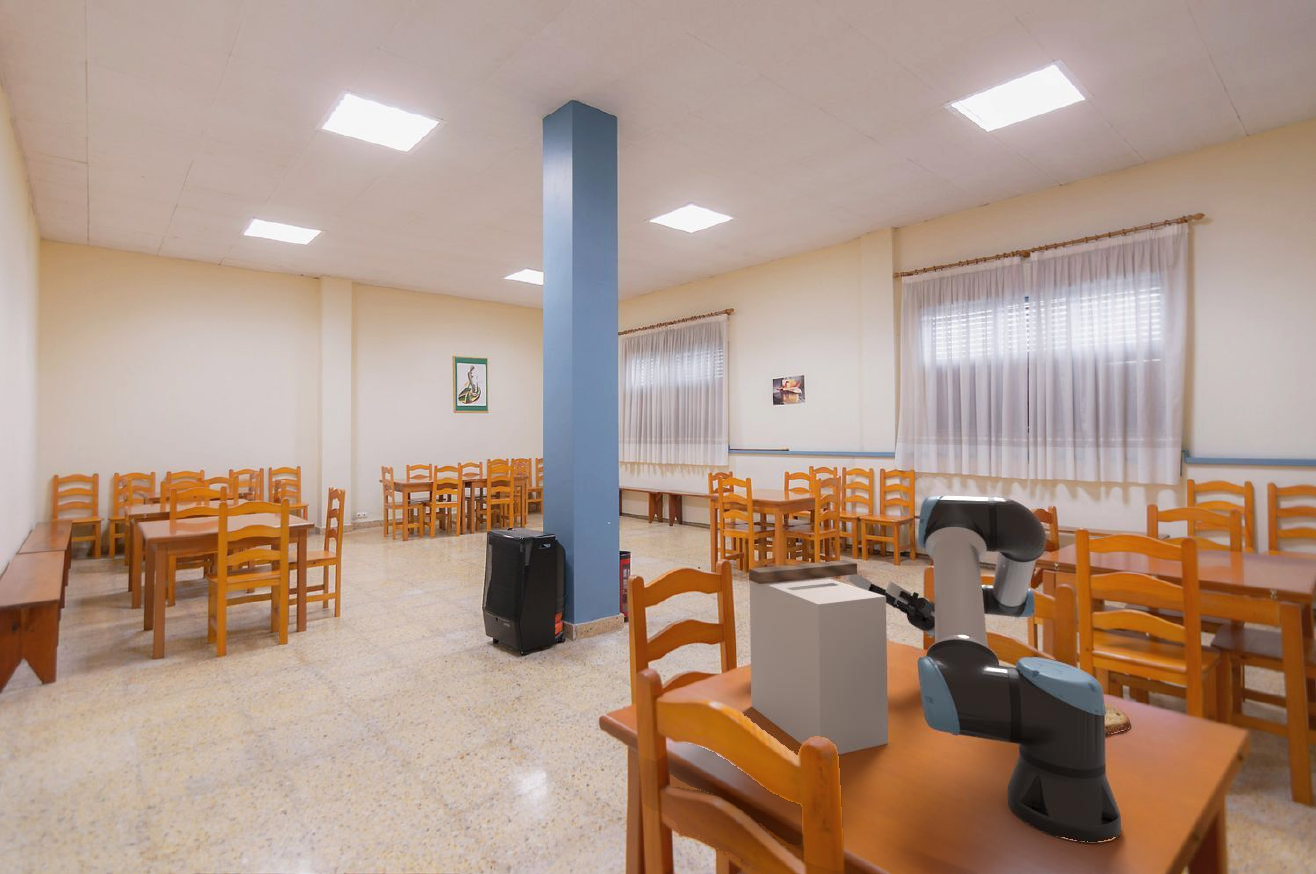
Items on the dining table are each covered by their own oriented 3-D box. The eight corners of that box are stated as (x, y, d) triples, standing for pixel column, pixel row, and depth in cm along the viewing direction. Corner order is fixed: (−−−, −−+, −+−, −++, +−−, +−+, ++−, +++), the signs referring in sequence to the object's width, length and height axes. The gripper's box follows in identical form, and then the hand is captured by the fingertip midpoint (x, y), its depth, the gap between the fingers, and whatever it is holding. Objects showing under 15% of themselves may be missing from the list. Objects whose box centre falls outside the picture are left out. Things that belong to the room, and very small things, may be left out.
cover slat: (844, 570, 151) (844, 560, 151) (857, 574, 146) (857, 563, 146) (749, 580, 141) (749, 568, 141) (759, 584, 137) (759, 572, 137)
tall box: (810, 695, 149) (808, 572, 149) (888, 743, 124) (885, 596, 125) (751, 706, 143) (749, 578, 143) (820, 758, 119) (818, 604, 119)
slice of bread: (1133, 721, 134) (1133, 703, 134) (1121, 751, 121) (1121, 731, 121) (1037, 698, 146) (1037, 682, 146) (1017, 724, 133) (1016, 706, 133)
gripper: (964, 645, 145) (900, 607, 138) (887, 618, 168) (829, 585, 161) (975, 615, 146) (913, 576, 140) (898, 592, 169) (841, 558, 163)
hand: (868, 581), depth 150 cm, fingers open, 13 cm apart
